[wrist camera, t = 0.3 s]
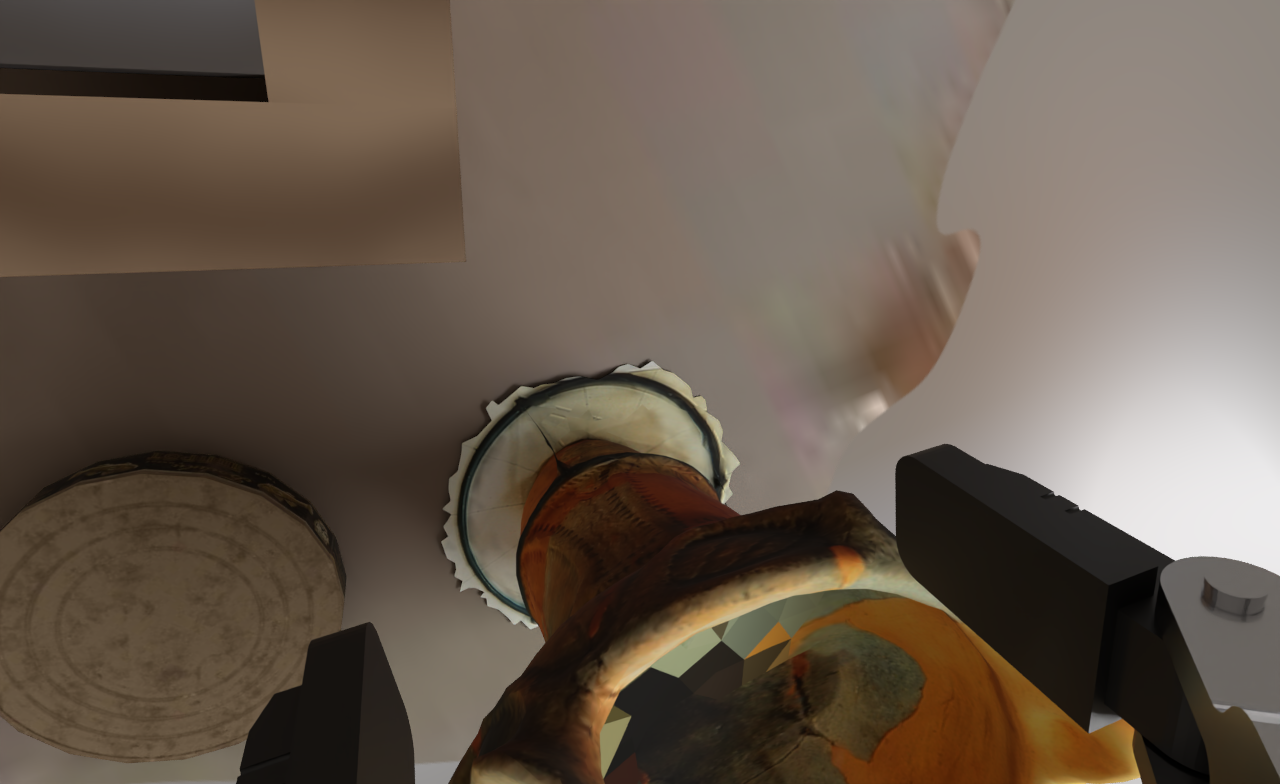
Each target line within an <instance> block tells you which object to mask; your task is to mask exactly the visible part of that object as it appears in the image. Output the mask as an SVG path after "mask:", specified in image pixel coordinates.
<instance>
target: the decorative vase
mask: <svg viewBox="0 0 1280 784" xmlns="http://www.w3.org/2000/svg"><path fill="white" fill-rule="evenodd" d="M486 410H487V412H488V414H489V416H490V418H491V420H492V421H491V422H490V423H489V424H488V425H487V426H486V427H485V428H484V429H483V430H482V431H481V432H480V434H479V435H478V436H476V437H474V438H472V439H470V440H468V441H466V442H464V443H462V453H461V458H460V463H459V467H458V471H457V472H456V473H455V474H454V475H453V476H452V477H450V478H449V495H450V500H451V501H450V502H449V503H448V504H447V505H446V506H445V507H444V508H443V510H445V511H447V512H448V513H450V514H451V516H450V517H449V519H448V521H447V522H446V524H445V525H444V526H443V528H444V529H445V531H446V533H447V535H448V537H447V538H446V539H444V540H443V541H441V543H442V545H443V548H444V551H445V554H446V557H447V559H449V560H451V561H453V562H455V565H456V572H455V576H454V577H456V578H458V579H460V580H461V581H462V585H461V590H460V592H461V591H463V590H465V589H467V588H476V589H479V590H481V591H483V592H484V593H483V594H482V596H481V597H482V598H486V599H487V606H489V607H492V608H495V609H498V610H500V611H501V612H502V613H503V614H504V615H505V616H507V617H508V618H509V619H510V621H511V622H512V623H513V624H514V625H515V624H517V623H518V622H520V621H522V622H523V623H524V624H525V625H526V626H527V627H528V628H529V629H533V628H535V627H538V626H539V627H540V629H541V632H542V634H543V637H544V640H545V644H544V646H543V647H542V648H541V649H540V650H539V652H538V653H537V654H536V655H535V657H534V658H533V660H532V661H531V662H530V664H529V665H528V667H527V668H526V670H525V671H524V673H523V674H522V675H521V676H520V677H519V678H518V679H517V680H515V681H514V682H513V683H512V684H511V685H509V686H508V687H507V688H506V690H505V692H504V693H503V695H502V697H501V698H500V700H499V701H498V703H497V704H496V706H495V707H494V709H493V710H492V711H491V712H490V713H489V714H488V715H487V716H486V717H485V718H484V719H483V721H482V724H481V727H480V729H479V732H478V734H477V736H476V737H475V739H474V740H473V742H472V744H471V745H470V747H469V748H468V750H467V752H466V753H465V755H464V756H463V758H462V760H461V761H460V763H459V765H458V767H457V769H456V771H455V772H454V774H453V776H452V778H451V780H450V782H449V783H448V784H1086V783H1091V784H1105V783H1116V782H1125V781H1129V780H1133V779H1136V778H1139V777H1140V774H1139V770H1138V767H1137V763H1136V760H1135V757H1134V753H1133V748H1132V741H1133V734H1134V728H1133V727H1132V726H1131V725H1129V724H1128V723H1127V722H1126V721H1125V720H1123V719H1121V720H1118V721H1116V722H1114V723H1112V724H1109V725H1107V726H1105V727H1103V728H1100V729H1098V730H1096V731H1094V732H1091V733H1089V734H1088V733H1087V732H1086V731H1085V730H1084V729H1083V728H1082V727H1080V726H1079V725H1078V724H1077V723H1076V722H1075V721H1074V720H1073V719H1071V718H1070V717H1069V716H1068V715H1067V714H1066V713H1065V712H1064V711H1062V710H1061V709H1060V708H1059V707H1058V706H1057V705H1056V704H1055V703H1053V702H1052V701H1051V700H1050V699H1049V698H1048V697H1047V696H1046V695H1044V694H1043V693H1042V692H1041V691H1040V690H1039V689H1038V688H1037V687H1035V686H1034V685H1033V684H1032V683H1031V682H1030V681H1029V680H1028V679H1026V678H1025V677H1024V676H1023V675H1022V674H1021V673H1020V672H1019V671H1017V670H1016V669H1015V668H1014V667H1013V666H1012V665H1011V664H1010V663H1008V662H1007V661H1006V660H1005V659H1004V658H1003V657H1002V656H1001V655H999V654H998V653H997V652H996V651H995V650H994V649H993V648H992V647H990V646H989V645H988V644H987V643H986V642H985V641H984V640H983V639H981V638H980V637H979V636H978V635H977V634H976V633H975V632H974V631H972V630H971V629H970V628H969V627H968V626H967V625H966V624H965V623H963V622H962V621H961V620H960V619H959V618H958V617H957V616H956V615H954V614H953V613H952V612H951V611H950V610H949V609H948V608H947V607H945V606H944V605H943V604H942V603H941V602H940V601H939V600H938V599H936V598H935V597H934V596H933V595H932V594H931V593H930V592H929V591H927V590H926V589H925V588H924V587H923V586H922V585H921V584H920V583H918V582H917V581H916V580H915V579H914V578H913V577H912V576H911V575H910V573H909V572H908V571H907V569H906V567H905V566H904V564H903V562H902V560H901V558H900V555H899V552H898V548H897V543H896V536H895V535H894V534H893V533H891V532H890V531H889V530H888V529H887V528H886V527H885V526H883V525H882V524H881V523H880V522H879V521H878V520H877V519H876V518H875V517H874V516H873V515H872V513H871V512H870V511H869V510H868V509H867V508H866V507H865V506H864V505H863V504H862V503H861V501H860V500H858V498H857V497H856V496H855V495H854V494H851V493H847V492H842V491H835V492H833V493H830V494H828V495H826V496H824V497H822V498H820V499H818V500H813V501H807V502H801V503H795V504H789V505H783V506H777V507H773V508H769V509H766V510H762V511H758V512H754V513H750V514H745V515H740V514H738V513H737V512H735V511H734V510H732V509H731V508H729V507H727V505H724V503H725V502H726V501H727V500H728V499H729V498H730V496H731V495H732V492H731V490H730V488H729V487H728V485H729V481H730V478H731V474H732V471H733V470H734V469H735V468H736V467H737V466H738V465H739V464H740V462H739V461H738V460H737V458H736V457H735V455H734V454H733V453H732V452H731V451H730V450H729V449H728V448H727V447H726V446H725V445H724V444H723V442H722V441H721V440H722V433H723V430H722V427H721V425H720V422H719V420H717V419H716V418H714V417H713V416H711V415H710V414H708V413H707V408H706V400H705V399H704V398H703V397H702V396H699V397H694V398H693V396H692V392H691V389H690V386H689V385H687V384H686V383H685V382H684V381H682V380H681V379H680V378H679V377H678V376H676V375H675V374H674V373H671V372H668V371H664V370H663V369H661V368H660V367H659V366H658V365H657V364H655V363H654V362H653V361H651V362H650V363H648V364H647V365H645V366H644V367H642V368H641V369H640V368H637V367H635V366H632V365H629V364H626V365H623V366H620V367H618V368H617V369H616V370H615V371H614V372H613V373H611V374H609V375H607V376H605V377H603V378H601V379H599V380H595V379H590V378H585V377H580V376H579V377H571V378H565V379H563V380H560V381H558V382H556V383H552V384H542V385H540V386H538V387H536V388H531V387H524V386H521V387H519V388H518V389H517V390H516V391H515V392H514V393H513V394H512V395H510V396H509V397H508V398H507V399H505V400H504V401H503V402H502V403H500V404H499V405H498V404H496V403H495V402H494V401H491V402H490V404H489V405H488V406H487V407H486ZM725 504H726V503H725Z"/></svg>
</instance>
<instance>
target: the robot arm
mask: <svg viewBox="0 0 1280 784" xmlns="http://www.w3.org/2000/svg"><path fill="white" fill-rule="evenodd" d="M895 475H896V476H895V477H896V478H895V480H896V543H897V548H898V552H899V555H900V558H901V560H902V562H903V564H904V566H905V567H906V569H907V571H908V572H909V573H910V575H911V576H912V577H913V578H914V579H915V580H916V581H917V582H918V583H920V584H921V585H922V586H923V587H924V588H925V589H926V590H927V591H929V592H930V593H931V594H932V595H933V596H934V597H935V598H936V599H938V600H939V601H940V602H941V603H942V604H943V605H944V606H945V607H947V608H948V609H949V610H950V611H951V612H952V613H953V614H954V615H956V616H957V617H958V618H959V619H960V620H961V621H962V622H963V623H965V624H966V625H967V626H968V627H969V628H970V629H971V630H972V631H974V632H975V633H976V634H977V635H978V636H979V637H980V638H981V639H983V640H984V641H985V642H986V643H987V644H988V645H989V646H990V647H992V648H993V649H994V650H995V651H996V652H997V653H998V654H999V655H1001V656H1002V657H1003V658H1004V659H1005V660H1006V661H1007V662H1008V663H1010V664H1011V665H1012V666H1013V667H1014V668H1015V669H1016V670H1017V671H1019V672H1020V673H1021V674H1022V675H1023V676H1024V677H1025V678H1026V679H1028V680H1029V681H1030V682H1031V683H1032V684H1033V685H1034V686H1035V687H1037V688H1038V689H1039V690H1040V691H1041V692H1042V693H1043V694H1044V695H1046V696H1047V697H1048V698H1049V699H1050V700H1051V701H1052V702H1053V703H1055V704H1056V705H1057V706H1058V707H1059V708H1060V709H1061V710H1062V711H1064V712H1065V713H1066V714H1067V715H1068V716H1069V717H1070V718H1071V719H1073V720H1074V721H1075V722H1076V723H1077V724H1078V725H1079V726H1080V727H1082V728H1083V729H1084V730H1085V731H1086V732H1087V733H1088V734H1089V733H1091V732H1094V731H1096V730H1098V729H1100V728H1103V727H1105V726H1107V725H1109V724H1112V723H1114V722H1116V721H1118V720H1121V719H1123V720H1125V721H1126V722H1127V723H1128V724H1129V725H1131V726H1132V727H1133V728H1134V734H1133V741H1132V748H1133V753H1134V757H1135V760H1136V763H1137V767H1138V770H1139V774H1140V777H1141V780H1142V784H1280V576H1278V575H1276V574H1274V573H1272V572H1270V571H1268V570H1266V569H1263V568H1260V567H1257V566H1254V565H1252V564H1249V563H1245V562H1241V561H1237V560H1232V559H1227V558H1218V557H1190V558H1184V559H1180V560H1177V561H1175V560H1173V559H1171V558H1169V557H1168V556H1166V555H1164V554H1162V553H1160V552H1159V551H1157V550H1155V549H1154V548H1151V547H1150V546H1148V545H1146V544H1145V543H1143V542H1141V541H1139V540H1138V539H1136V538H1134V537H1132V536H1131V535H1128V534H1127V533H1125V532H1124V531H1122V530H1120V529H1118V528H1117V527H1115V526H1113V525H1111V524H1109V523H1108V522H1106V521H1104V520H1102V519H1101V518H1099V517H1097V516H1095V515H1093V514H1092V513H1090V512H1088V511H1086V510H1082V511H1081V510H1079V507H1078V505H1076V504H1074V503H1072V502H1071V501H1069V500H1067V499H1065V498H1064V497H1062V496H1060V495H1058V496H1055V495H1054V492H1053V491H1051V490H1050V489H1048V488H1046V487H1044V486H1043V485H1041V484H1039V483H1037V482H1036V481H1034V480H1032V479H1030V478H1028V477H1027V476H1025V475H1023V474H1019V473H1016V472H1012V471H1009V470H1006V469H1002V468H999V467H996V466H992V465H989V464H984V463H982V462H980V461H979V460H977V459H975V458H974V457H972V456H970V455H968V454H967V453H965V452H963V451H962V450H960V449H958V448H957V447H955V446H952V445H949V444H942V445H940V446H936V447H933V448H930V449H926V450H923V451H920V452H917V453H914V454H911V455H907V456H904V457H902V458H901V459H900V460H899V461H898V463H897V465H896V473H895ZM240 772H241V776H239V777H238V778H237V783H236V784H415V768H414V748H413V740H412V734H411V729H410V724H409V720H408V716H407V712H406V709H405V706H404V703H403V700H402V698H401V695H400V692H399V690H398V687H397V684H396V682H395V679H394V676H393V674H392V671H391V668H390V666H389V663H388V660H387V658H386V655H385V652H384V650H383V647H382V644H381V642H380V639H379V636H378V634H377V631H376V629H375V627H374V626H373V624H372V623H371V622H368V623H365V624H361V625H358V626H355V627H352V628H349V629H345V630H342V631H339V632H336V633H333V634H329V635H326V636H323V637H320V638H317V639H313V640H311V641H310V643H309V646H308V651H307V657H306V663H305V669H304V675H303V681H302V685H300V686H297V687H294V688H291V689H288V690H285V691H282V692H279V693H275V694H274V695H273V696H272V698H271V699H270V701H269V702H268V704H267V705H266V707H265V708H264V710H263V711H262V713H261V714H260V716H259V717H258V719H257V720H256V722H255V723H254V725H253V726H252V727H251V729H250V730H249V733H248V737H247V741H246V745H245V749H244V754H243V758H242V762H241V766H240Z"/></svg>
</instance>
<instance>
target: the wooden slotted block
mask: <svg viewBox="0 0 1280 784" xmlns="http://www.w3.org/2000/svg"><path fill="white" fill-rule="evenodd" d="M0 68H13V69H38V70H63V71H87V72H112V73H137V74H162V75H186V76H211V77H236V78H261V79H265V80H266V87H267V95H268V102H243V101H211V100H180V99H148V98H116V97H84V96H52V95H20V94H0V277H15V276H46V275H76V274H107V273H138V272H168V271H199V270H229V269H260V268H291V267H321V266H352V265H382V264H413V263H444V262H466V256H465V239H464V223H463V207H462V191H461V175H460V159H459V143H458V127H457V111H456V95H455V79H454V63H453V46H452V30H451V14H450V0H0Z"/></svg>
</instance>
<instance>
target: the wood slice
mask: <svg viewBox="0 0 1280 784" xmlns="http://www.w3.org/2000/svg"><path fill="white" fill-rule="evenodd" d="M345 586H346V573H345V570H344V566H343V562H342V558H341V555H340V551H339V547H338V543H337V539H336V537H335V535H334V534H333V533H332V531H331V530H330V528H329V527H328V526H327V524H326V523H325V522H324V520H323V519H322V517H321V516H320V515H319V513H318V512H317V511H316V509H315V508H314V507H313V505H312V504H311V502H310V501H308V500H307V499H306V498H304V497H303V496H301V495H300V494H298V493H297V492H296V491H294V490H293V489H291V488H290V487H288V486H287V485H286V484H284V483H283V482H281V481H280V480H279V479H277V478H276V477H274V476H273V475H271V474H270V473H268V472H265V471H262V470H259V469H256V468H253V467H250V466H247V465H244V464H241V463H239V462H236V461H233V460H230V459H227V458H224V457H221V456H218V455H208V454H194V453H179V452H165V451H155V452H149V453H144V454H138V455H133V456H127V457H122V458H117V459H111V460H106V461H100V462H97V463H95V464H93V465H90V466H88V467H86V468H84V469H82V470H80V471H78V472H76V473H74V474H72V475H70V476H68V477H66V478H64V479H62V480H60V481H57V482H55V483H53V484H51V485H49V486H47V487H45V488H44V489H43V490H42V491H41V492H40V493H39V494H38V495H37V496H36V497H35V498H33V499H32V500H31V501H30V502H29V503H28V504H27V505H26V506H25V507H24V508H23V509H22V510H21V511H20V512H19V513H18V514H17V515H16V516H15V517H14V518H13V519H12V520H11V521H10V522H8V523H7V524H6V525H5V526H4V527H3V528H2V529H1V530H0V716H1V717H2V718H4V719H5V720H6V721H7V722H8V723H9V724H10V725H12V726H13V727H14V728H15V729H16V730H17V731H19V732H21V733H23V734H26V735H28V736H30V737H32V738H35V739H37V740H39V741H42V742H44V743H46V744H48V745H51V746H53V747H55V748H58V749H60V750H62V751H64V752H67V753H69V754H74V755H80V756H86V757H92V758H99V759H105V760H111V761H117V762H123V763H136V762H152V761H167V760H183V759H188V758H191V757H195V756H198V755H202V754H205V753H209V752H212V751H215V750H219V749H222V748H226V747H229V746H233V745H236V744H239V743H241V742H242V741H244V740H246V739H247V737H248V733H249V730H250V729H251V727H252V726H253V725H254V723H255V722H256V720H257V719H258V717H259V716H260V714H261V713H262V711H263V710H264V708H265V707H266V705H267V704H268V702H269V701H270V699H271V698H272V696H273V695H274V694H275V693H279V692H282V691H285V690H288V689H291V688H294V687H297V686H300V685H302V681H303V675H304V669H305V663H306V657H307V651H308V646H309V643H310V641H311V640H313V639H317V638H320V637H323V636H326V635H329V634H333V633H336V632H339V631H341V624H342V616H343V608H344V598H345Z"/></svg>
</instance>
